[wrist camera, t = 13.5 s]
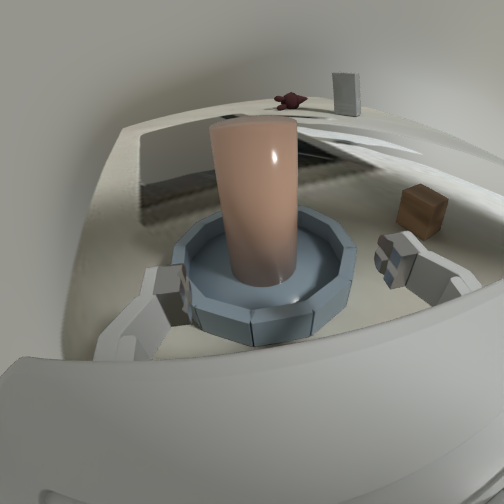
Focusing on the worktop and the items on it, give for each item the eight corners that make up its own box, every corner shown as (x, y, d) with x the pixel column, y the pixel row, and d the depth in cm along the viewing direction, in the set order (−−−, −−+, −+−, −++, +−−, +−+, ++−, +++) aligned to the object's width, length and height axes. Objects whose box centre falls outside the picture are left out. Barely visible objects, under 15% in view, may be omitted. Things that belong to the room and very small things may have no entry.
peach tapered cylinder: (287, 240, 24) (283, 113, 17) (304, 280, 20) (309, 127, 13) (228, 249, 23) (209, 121, 17) (234, 292, 19) (209, 137, 13)
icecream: (299, 91, 93) (268, 97, 89) (310, 88, 87) (278, 93, 83) (304, 107, 96) (273, 113, 92) (315, 105, 90) (284, 111, 86)
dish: (317, 216, 28) (318, 195, 27) (378, 319, 17) (388, 295, 16) (184, 235, 27) (179, 214, 26) (175, 356, 16) (163, 334, 15)
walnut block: (413, 213, 28) (420, 183, 25) (439, 230, 25) (448, 198, 22) (395, 223, 26) (402, 190, 24) (423, 241, 24) (433, 207, 21)
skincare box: (360, 115, 81) (361, 73, 71) (355, 117, 76) (356, 72, 66) (338, 112, 85) (338, 71, 75) (332, 114, 80) (331, 70, 71)
